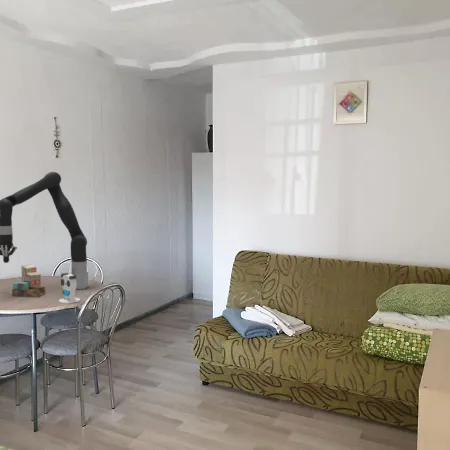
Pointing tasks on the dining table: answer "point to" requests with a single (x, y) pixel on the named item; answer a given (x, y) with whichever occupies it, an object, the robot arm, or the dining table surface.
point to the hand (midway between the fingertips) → (6, 262)
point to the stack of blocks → (31, 275)
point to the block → (21, 282)
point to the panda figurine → (68, 288)
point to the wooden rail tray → (28, 293)
